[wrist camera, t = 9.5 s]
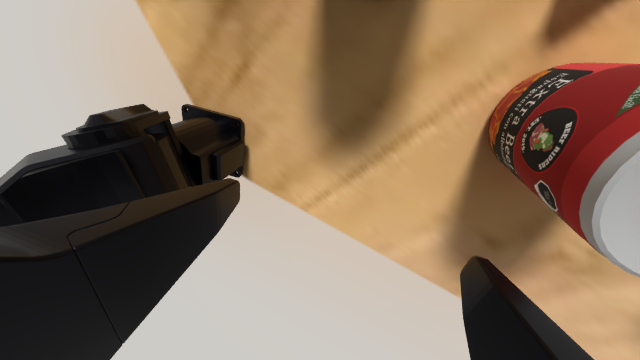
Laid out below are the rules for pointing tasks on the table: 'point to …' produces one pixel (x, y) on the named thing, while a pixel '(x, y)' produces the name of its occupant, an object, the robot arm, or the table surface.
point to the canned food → (579, 150)
